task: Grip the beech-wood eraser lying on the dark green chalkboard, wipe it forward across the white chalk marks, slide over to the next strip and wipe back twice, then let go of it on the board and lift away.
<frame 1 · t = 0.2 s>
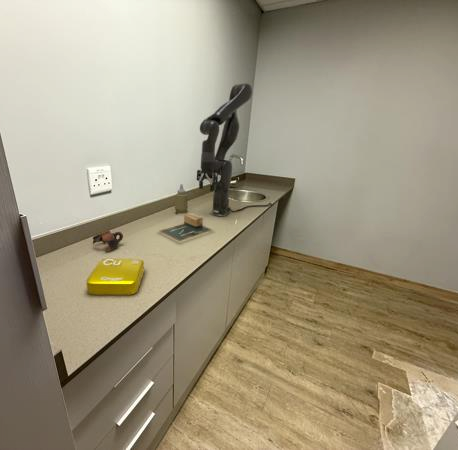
hand: (206, 189, 137), 17 cm above the worktop, tool pointing down, fingers open, 8 cm apart
eraser: (193, 225, 128), point 1 cm above the worktop, touching chalkboard
brown teapot: (109, 247, 103), on the worktop
chalkboard: (186, 232, 121), on the worktop
squeeze bottle: (181, 213, 150), on the worktop
element tile: (118, 281, 80), on the worktop
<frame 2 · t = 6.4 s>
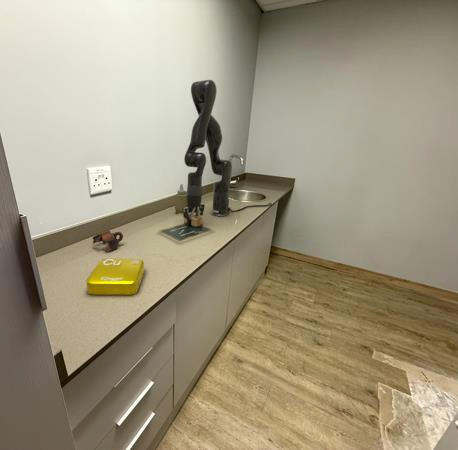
hand: (193, 224, 128), 2 cm above the worktop, tool pointing down, fingers closed on eraser, 5 cm apart
eraser: (193, 225, 128), point 1 cm above the worktop, touching chalkboard, gripper
everything else where it was.
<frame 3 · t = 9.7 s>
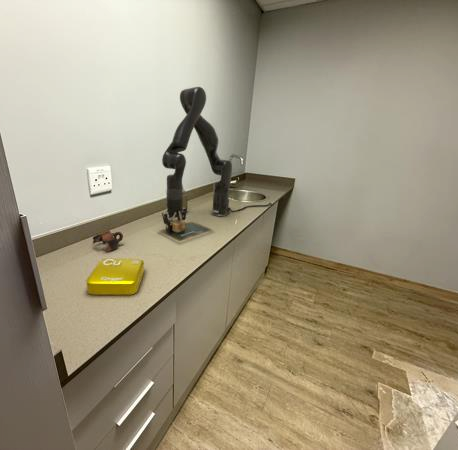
hand: (175, 230, 120), 2 cm above the worktop, tool pointing down, fingers closed on eraser, 5 cm apart
eraser: (175, 230, 120), point 1 cm above the worktop, touching chalkboard, gripper
everything else where it was.
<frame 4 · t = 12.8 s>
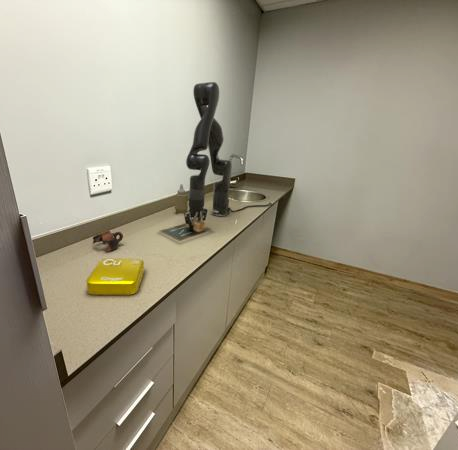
hand: (195, 230, 122), 1 cm above the worktop, tool pointing down, fingers closed on eraser, 5 cm apart
eraser: (195, 230, 122), point 1 cm above the worktop, touching gripper
everything else where it was.
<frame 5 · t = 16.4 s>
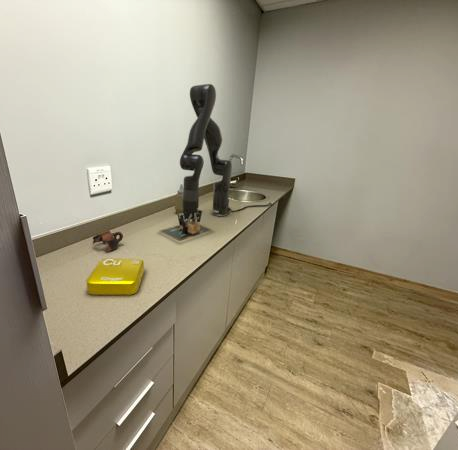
hand: (189, 231, 119), 1 cm above the worktop, tool pointing down, fingers closed on eraser, 5 cm apart
eraser: (189, 232, 119), point 1 cm above the worktop, touching gripper
everything else where it was.
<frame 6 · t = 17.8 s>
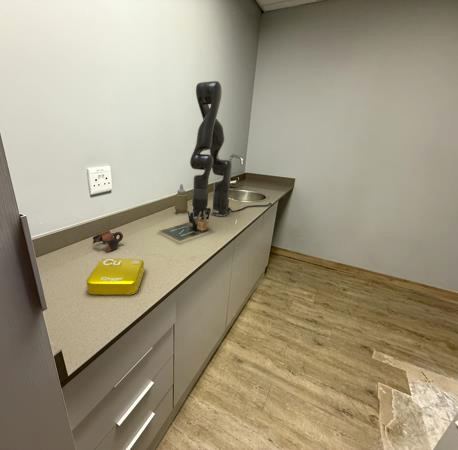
hand: (198, 229, 123), 1 cm above the worktop, tool pointing down, fingers closed on eraser, 5 cm apart
eraser: (198, 229, 123), point 1 cm above the worktop, touching gripper
everything else where it was.
when the fingers open (1 cm above the worktop, at t = 19.4 s): eraser stays where it is, resting on chalkboard.
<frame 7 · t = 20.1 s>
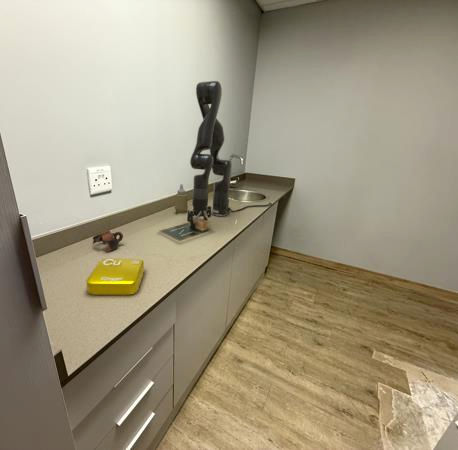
hand: (199, 227, 123), 2 cm above the worktop, tool pointing down, fingers open, 8 cm apart
eraser: (198, 229, 123), point 1 cm above the worktop, touching chalkboard
everything else where it was.
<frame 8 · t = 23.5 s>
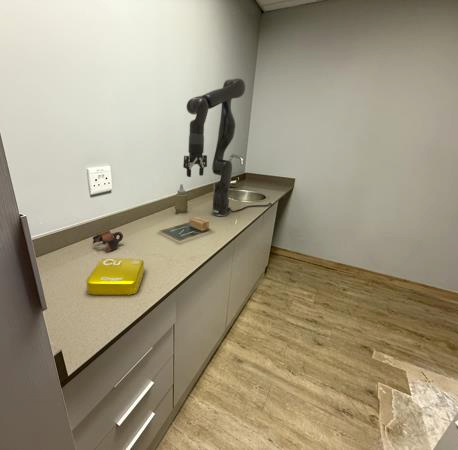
hand: (195, 176, 125), 26 cm above the worktop, tool pointing down, fingers open, 8 cm apart
nothing on the worktop moved.
at the end: eraser inside the target area (0.3 cm from its centre), point 1.2 cm above the worktop; eraser touching chalkboard; eraser tilted 0° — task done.
